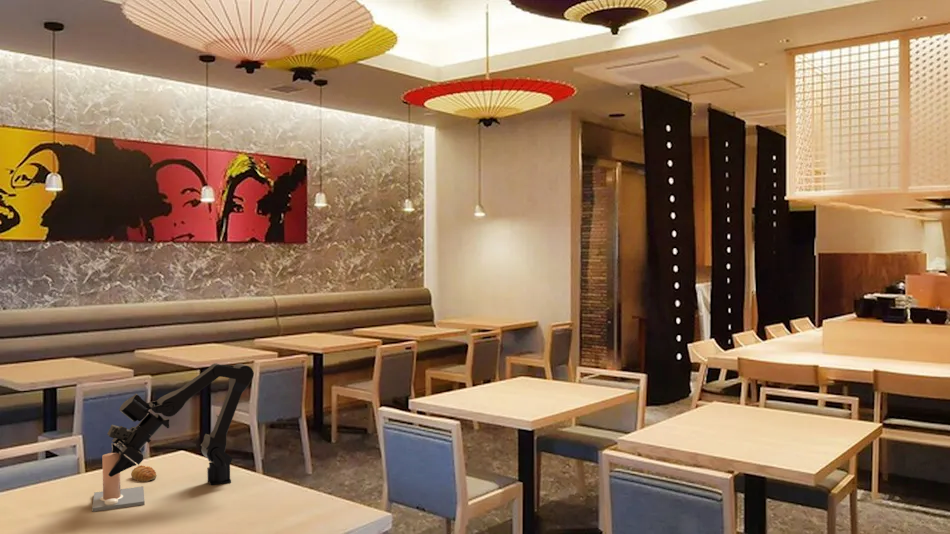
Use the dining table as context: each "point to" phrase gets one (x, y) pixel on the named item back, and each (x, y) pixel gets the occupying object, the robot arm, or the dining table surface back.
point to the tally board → (119, 499)
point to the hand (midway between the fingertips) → (106, 472)
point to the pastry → (143, 473)
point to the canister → (110, 483)
